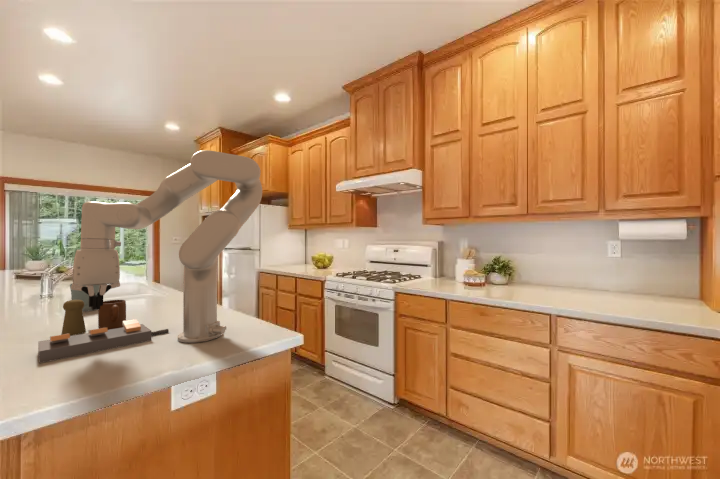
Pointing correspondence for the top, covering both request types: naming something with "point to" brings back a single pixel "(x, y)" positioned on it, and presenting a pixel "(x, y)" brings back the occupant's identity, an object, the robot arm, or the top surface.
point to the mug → (112, 314)
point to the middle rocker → (98, 331)
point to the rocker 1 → (59, 338)
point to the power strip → (93, 343)
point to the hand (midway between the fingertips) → (95, 308)
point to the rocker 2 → (131, 325)
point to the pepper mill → (73, 318)
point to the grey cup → (83, 296)
